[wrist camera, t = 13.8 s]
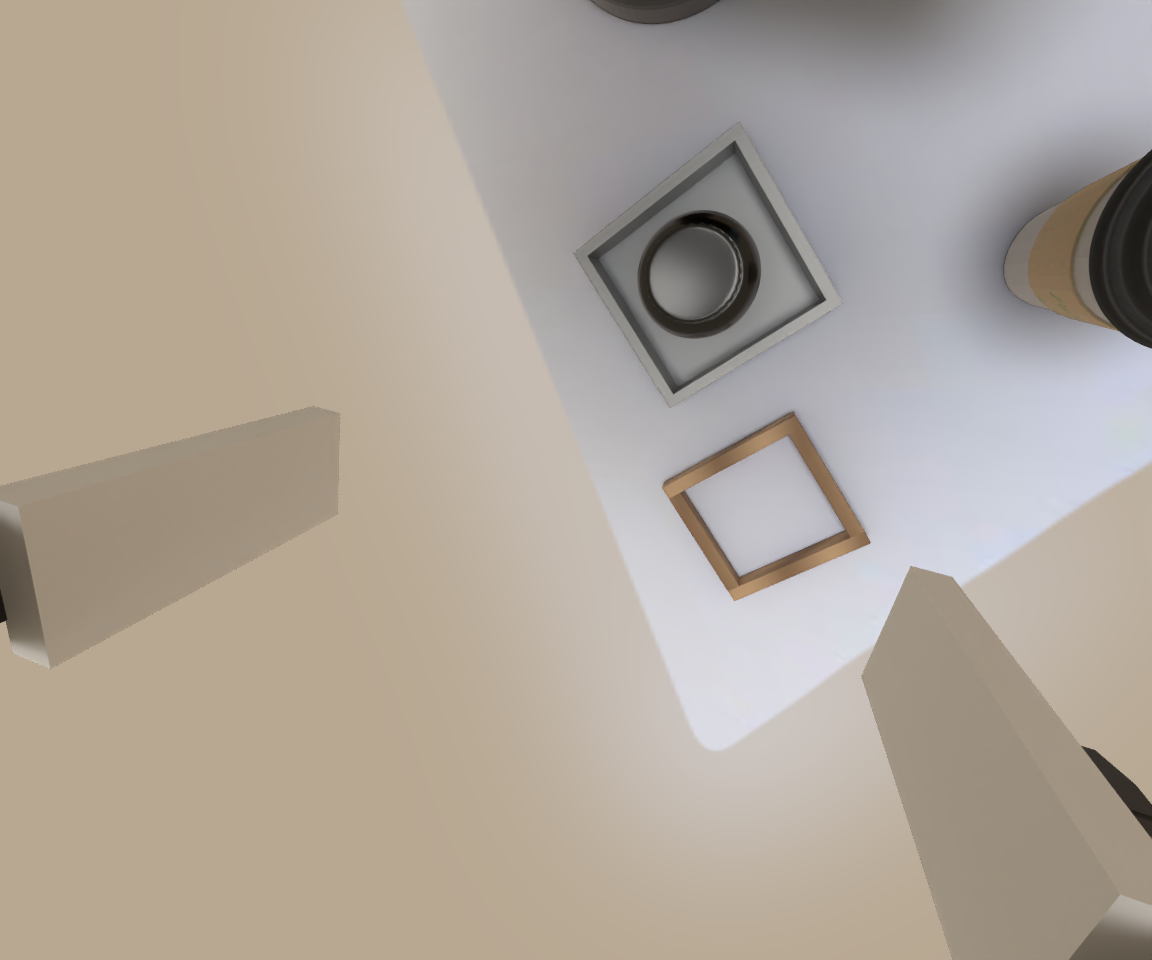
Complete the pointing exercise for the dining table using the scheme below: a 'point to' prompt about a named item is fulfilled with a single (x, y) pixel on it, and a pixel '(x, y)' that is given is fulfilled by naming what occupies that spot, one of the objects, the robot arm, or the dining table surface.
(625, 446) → the dining table surface
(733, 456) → the wooden square frame
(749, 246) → the supplement bottle
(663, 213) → the bin
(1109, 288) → the coffee cup
